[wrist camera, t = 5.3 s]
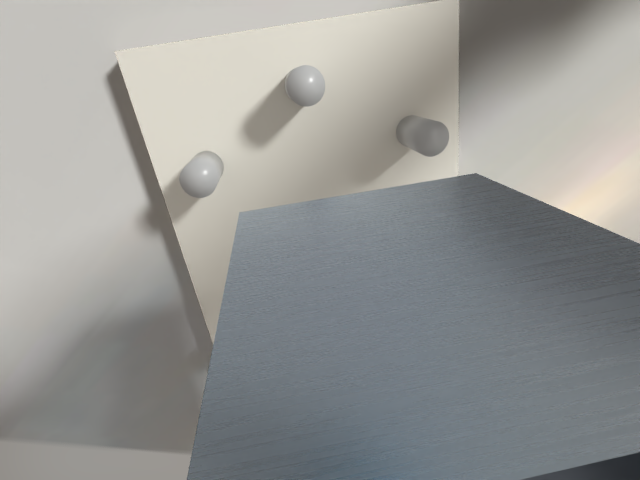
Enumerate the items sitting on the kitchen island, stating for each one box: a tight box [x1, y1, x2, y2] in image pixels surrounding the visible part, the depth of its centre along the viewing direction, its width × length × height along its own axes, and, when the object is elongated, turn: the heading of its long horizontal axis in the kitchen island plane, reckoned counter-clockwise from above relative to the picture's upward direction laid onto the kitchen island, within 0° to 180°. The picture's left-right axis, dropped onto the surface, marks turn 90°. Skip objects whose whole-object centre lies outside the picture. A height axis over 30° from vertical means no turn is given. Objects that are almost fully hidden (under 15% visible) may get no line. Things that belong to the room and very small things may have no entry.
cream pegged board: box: [114, 0, 459, 344], centre depth 18 cm, size 14×19×4 cm
